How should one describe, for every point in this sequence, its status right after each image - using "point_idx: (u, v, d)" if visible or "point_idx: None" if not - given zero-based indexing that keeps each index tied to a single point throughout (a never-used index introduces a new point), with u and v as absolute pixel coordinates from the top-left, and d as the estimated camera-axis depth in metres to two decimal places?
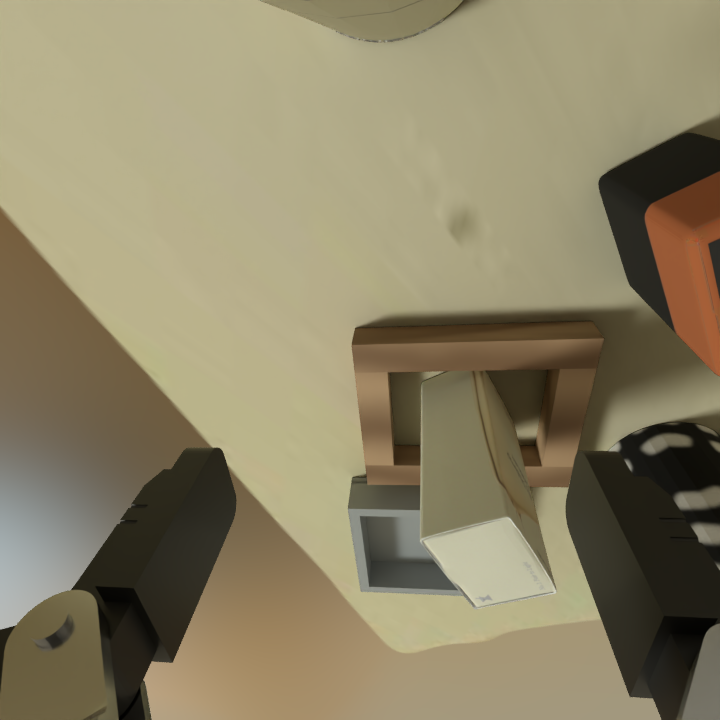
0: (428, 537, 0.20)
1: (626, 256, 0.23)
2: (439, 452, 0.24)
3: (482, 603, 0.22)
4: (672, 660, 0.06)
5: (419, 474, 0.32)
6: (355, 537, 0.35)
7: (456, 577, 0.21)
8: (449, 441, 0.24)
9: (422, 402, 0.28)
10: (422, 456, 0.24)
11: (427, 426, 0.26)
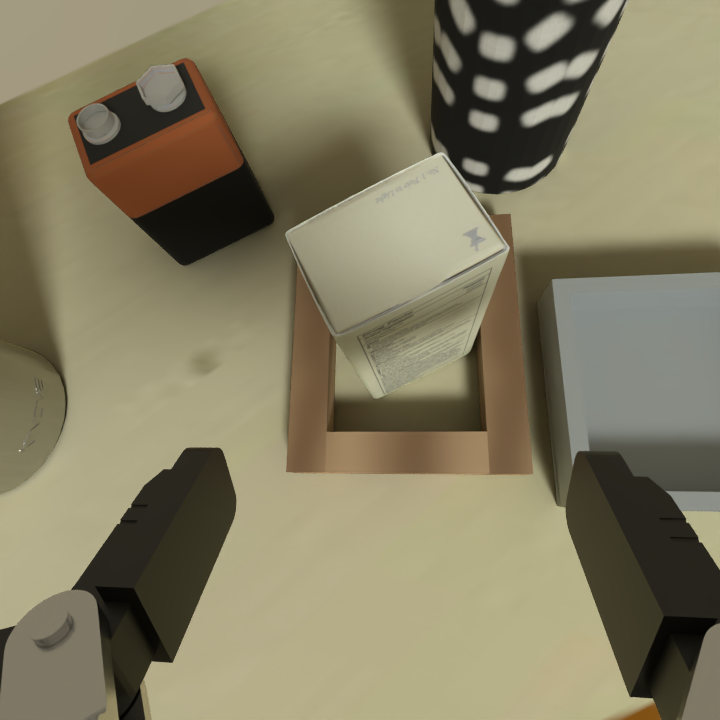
0: (330, 325, 0.14)
1: (229, 230, 0.28)
2: None
3: (489, 239, 0.14)
4: (672, 660, 0.06)
5: (502, 395, 0.22)
6: None
7: (424, 282, 0.14)
8: None
9: (368, 390, 0.23)
10: (355, 370, 0.19)
11: None
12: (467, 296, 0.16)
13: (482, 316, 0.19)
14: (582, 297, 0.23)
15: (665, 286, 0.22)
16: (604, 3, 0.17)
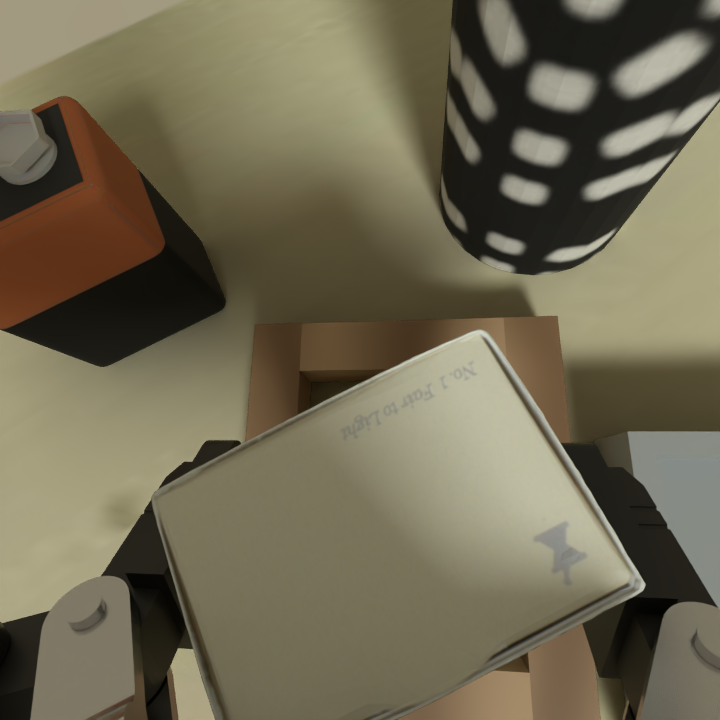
0: None
1: (159, 324, 0.20)
2: None
3: (597, 558, 0.06)
4: (636, 639, 0.07)
5: None
6: None
7: (447, 656, 0.06)
8: None
9: None
10: None
11: None
12: None
13: None
14: (673, 457, 0.15)
15: None
16: None
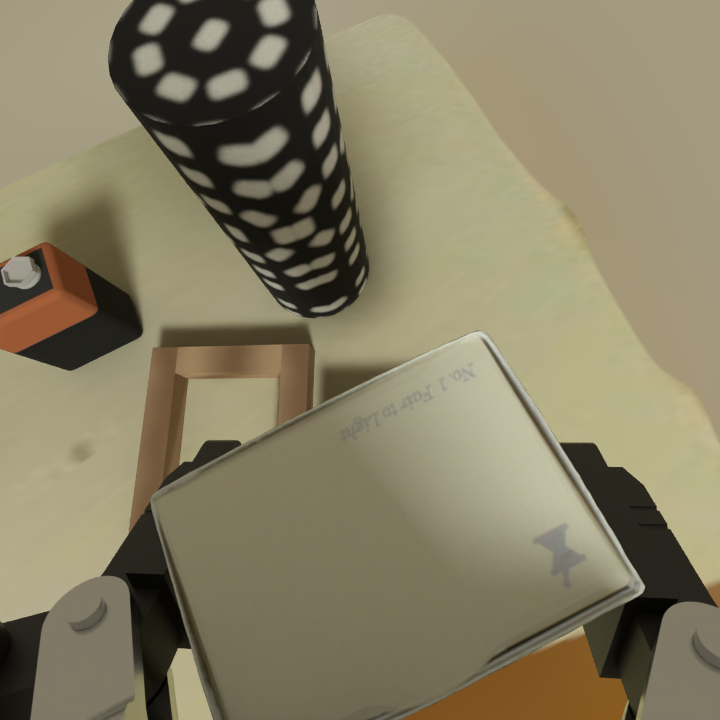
0: None
1: (101, 346, 0.35)
2: None
3: (596, 560, 0.06)
4: (635, 639, 0.07)
5: None
6: None
7: (447, 660, 0.06)
8: None
9: None
10: None
11: None
12: None
13: None
14: None
15: None
16: (312, 239, 0.25)
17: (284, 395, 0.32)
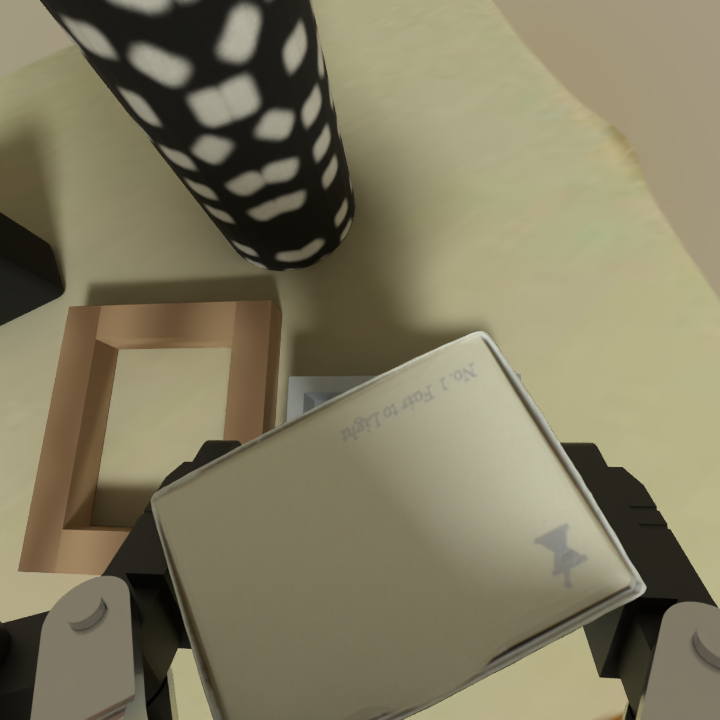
0: None
1: (6, 306, 0.27)
2: None
3: (597, 561, 0.06)
4: (635, 639, 0.07)
5: None
6: None
7: (447, 660, 0.06)
8: None
9: None
10: None
11: None
12: None
13: None
14: (321, 394, 0.22)
15: None
16: (258, 124, 0.17)
17: (237, 368, 0.24)
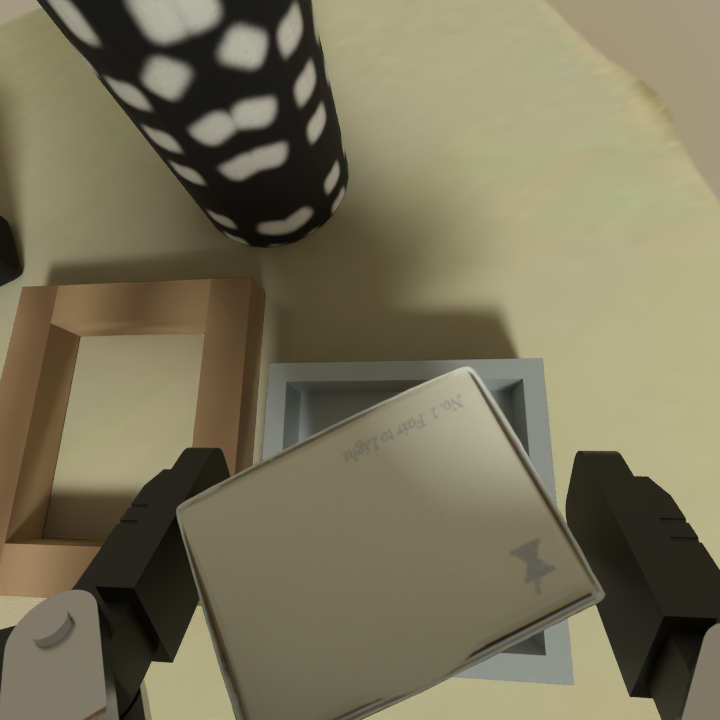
0: None
1: None
2: None
3: (564, 571, 0.07)
4: (672, 660, 0.06)
5: None
6: None
7: (433, 654, 0.07)
8: None
9: None
10: None
11: None
12: None
13: None
14: (307, 384, 0.19)
15: (394, 376, 0.18)
16: (221, 43, 0.13)
17: (210, 354, 0.20)
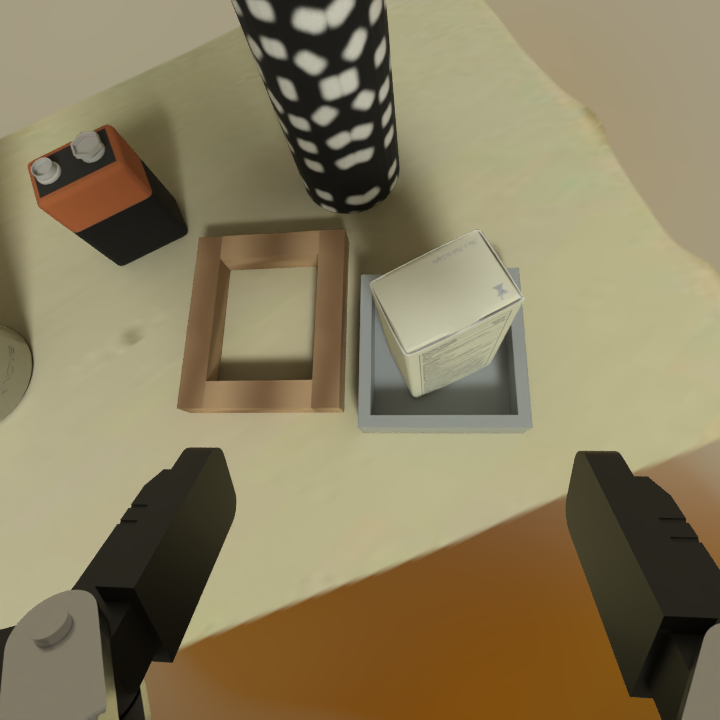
0: (402, 347, 0.21)
1: (151, 240, 0.38)
2: (399, 361, 0.26)
3: (511, 292, 0.21)
4: (672, 660, 0.06)
5: (325, 355, 0.32)
6: (409, 423, 0.29)
7: (466, 319, 0.21)
8: (396, 354, 0.26)
9: (412, 392, 0.30)
10: (408, 377, 0.25)
11: (407, 380, 0.28)
12: (494, 327, 0.23)
13: (502, 338, 0.26)
14: None
15: None
16: (355, 98, 0.27)
17: (322, 274, 0.34)
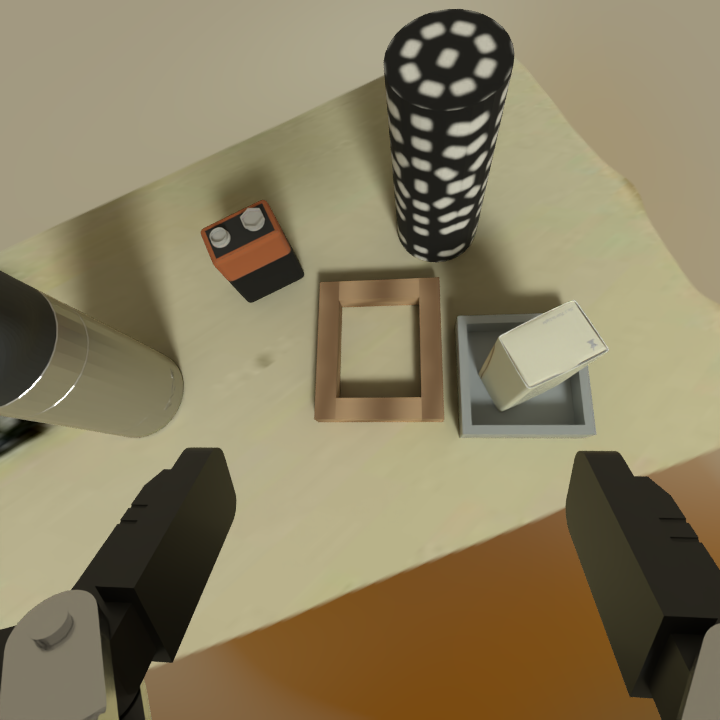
0: (525, 383, 0.30)
1: (278, 282, 0.47)
2: (506, 387, 0.35)
3: (599, 345, 0.30)
4: (672, 660, 0.06)
5: (430, 378, 0.42)
6: (502, 431, 0.39)
7: (569, 364, 0.30)
8: (501, 382, 0.36)
9: (502, 407, 0.40)
10: (512, 399, 0.35)
11: (505, 400, 0.37)
12: (582, 366, 0.32)
13: (579, 370, 0.36)
14: (474, 325, 0.42)
15: (515, 320, 0.41)
16: (468, 192, 0.37)
17: (423, 313, 0.44)
